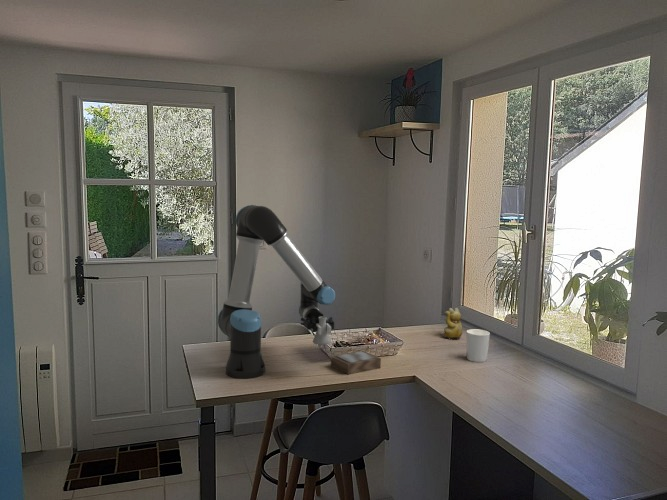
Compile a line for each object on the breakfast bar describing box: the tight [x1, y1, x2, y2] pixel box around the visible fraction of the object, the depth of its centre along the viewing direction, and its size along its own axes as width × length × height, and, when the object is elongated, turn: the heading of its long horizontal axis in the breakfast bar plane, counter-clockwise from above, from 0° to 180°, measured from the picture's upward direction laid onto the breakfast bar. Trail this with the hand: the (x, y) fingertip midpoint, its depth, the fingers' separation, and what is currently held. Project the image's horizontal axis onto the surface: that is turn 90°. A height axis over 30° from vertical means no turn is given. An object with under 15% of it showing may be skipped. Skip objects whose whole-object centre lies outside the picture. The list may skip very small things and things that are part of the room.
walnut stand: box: [330, 350, 382, 375], centre depth 219 cm, size 16×12×4 cm
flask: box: [312, 316, 332, 346], centre depth 209 cm, size 7×7×10 cm
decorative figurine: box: [443, 307, 463, 340], centre depth 267 cm, size 10×8×15 cm
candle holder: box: [466, 328, 491, 363], centre depth 233 cm, size 10×10×12 cm
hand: (325, 331), depth 203 cm, fingers closed on flask, 3 cm apart
